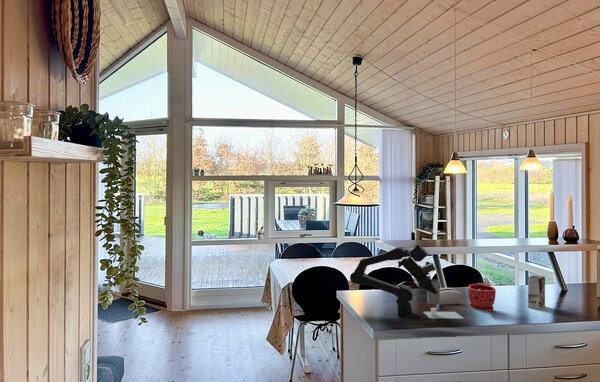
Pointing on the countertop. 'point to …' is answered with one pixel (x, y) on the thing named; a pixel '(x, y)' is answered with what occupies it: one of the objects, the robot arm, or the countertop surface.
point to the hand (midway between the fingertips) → (436, 292)
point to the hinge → (449, 296)
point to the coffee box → (536, 292)
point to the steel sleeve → (431, 296)
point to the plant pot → (481, 297)
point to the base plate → (442, 314)
